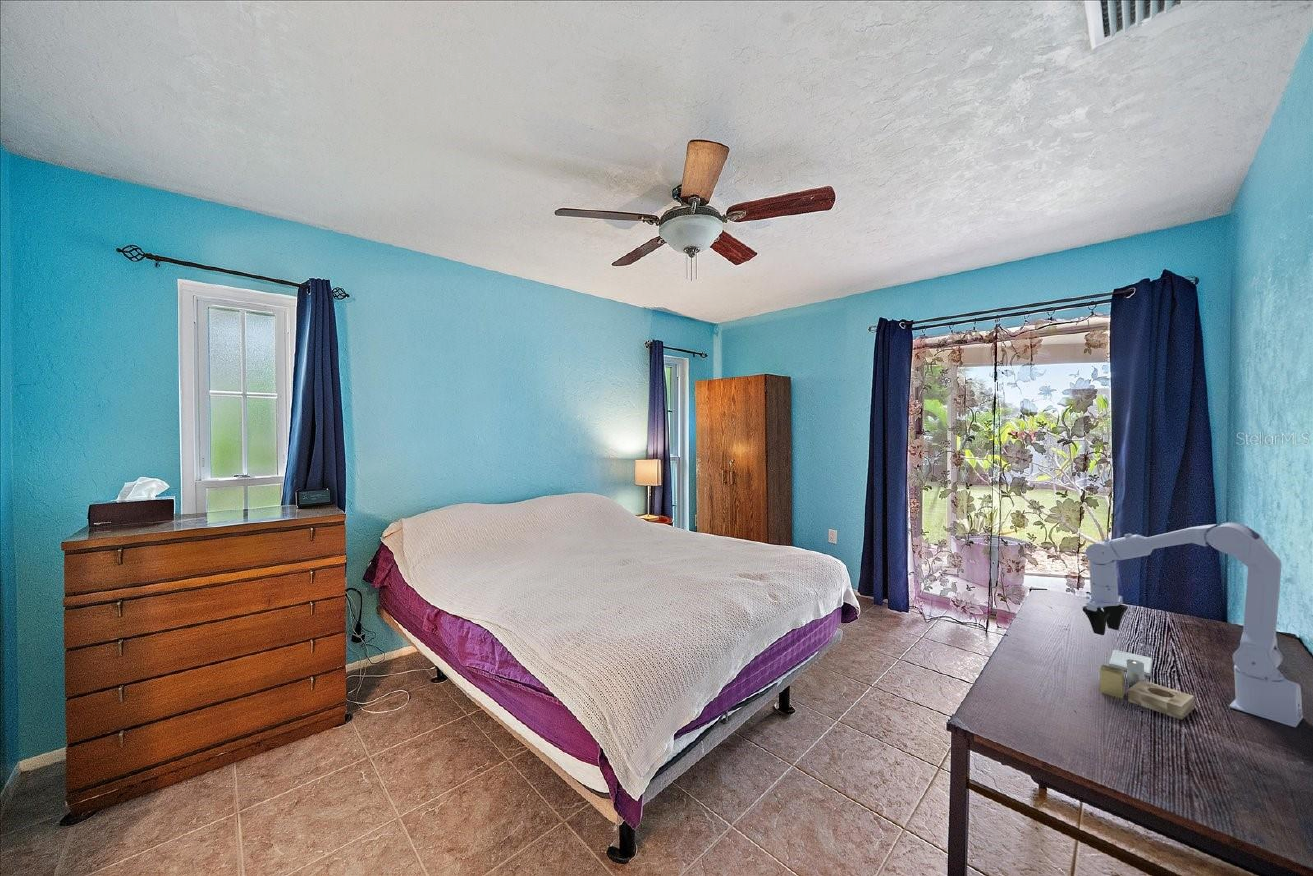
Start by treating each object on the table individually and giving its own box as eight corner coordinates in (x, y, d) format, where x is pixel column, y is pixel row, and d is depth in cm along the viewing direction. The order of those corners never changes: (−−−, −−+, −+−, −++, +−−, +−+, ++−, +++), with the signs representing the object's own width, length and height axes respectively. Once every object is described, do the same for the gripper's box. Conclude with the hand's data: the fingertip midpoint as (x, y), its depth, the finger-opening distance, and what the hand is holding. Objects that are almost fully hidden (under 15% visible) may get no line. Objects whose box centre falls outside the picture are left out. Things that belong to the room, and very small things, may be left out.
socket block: (1194, 708, 111) (1193, 695, 111) (1181, 720, 107) (1181, 707, 107) (1142, 691, 119) (1141, 679, 119) (1128, 701, 115) (1127, 689, 115)
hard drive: (1113, 649, 140) (1108, 662, 132) (1152, 658, 134) (1150, 672, 126) (1113, 654, 140) (1108, 668, 132) (1152, 663, 134) (1150, 678, 126)
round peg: (1146, 686, 122) (1145, 663, 122) (1142, 689, 120) (1141, 666, 120) (1130, 680, 124) (1129, 658, 124) (1125, 683, 123) (1124, 661, 123)
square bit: (1125, 693, 118) (1124, 670, 119) (1122, 699, 116) (1121, 675, 116) (1103, 687, 122) (1102, 664, 122) (1100, 692, 119) (1099, 669, 119)
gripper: (1099, 577, 139) (1102, 622, 139) (1072, 584, 134) (1074, 631, 133) (1131, 583, 133) (1133, 630, 132) (1103, 590, 127) (1106, 640, 127)
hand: (1106, 631), depth 132 cm, fingers open, 7 cm apart
